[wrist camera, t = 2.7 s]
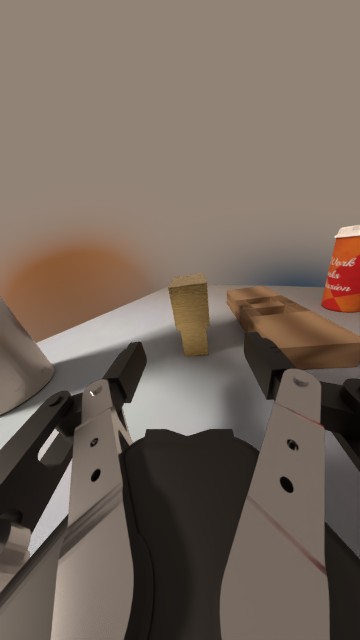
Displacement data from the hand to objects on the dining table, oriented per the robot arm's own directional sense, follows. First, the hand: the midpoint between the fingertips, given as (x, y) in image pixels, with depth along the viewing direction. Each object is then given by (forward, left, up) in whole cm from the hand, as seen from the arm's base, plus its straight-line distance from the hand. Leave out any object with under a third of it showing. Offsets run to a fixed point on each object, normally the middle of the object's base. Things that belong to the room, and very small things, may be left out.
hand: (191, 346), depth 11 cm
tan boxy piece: (0, +11, -8) cm, 14 cm away
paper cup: (+29, +19, -8) cm, 36 cm away
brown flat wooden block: (+13, +16, -8) cm, 22 cm away
